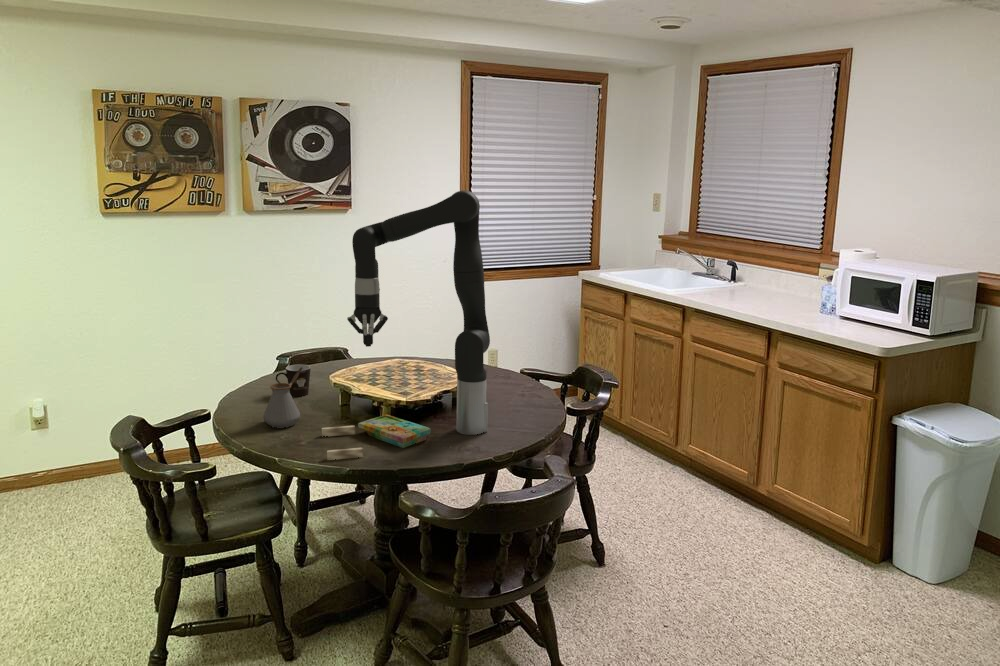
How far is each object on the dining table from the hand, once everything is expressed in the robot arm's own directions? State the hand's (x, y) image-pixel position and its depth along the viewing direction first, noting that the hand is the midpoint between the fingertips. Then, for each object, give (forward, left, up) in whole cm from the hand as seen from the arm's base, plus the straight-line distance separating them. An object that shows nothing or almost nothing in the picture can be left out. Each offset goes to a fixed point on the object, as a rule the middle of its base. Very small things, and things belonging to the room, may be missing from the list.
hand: (368, 345), depth 242 cm
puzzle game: (-6, +12, -27) cm, 30 cm away
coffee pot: (+24, -12, -26) cm, 38 cm away
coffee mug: (+21, -39, -26) cm, 51 cm away
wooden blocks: (+10, +16, -26) cm, 33 cm away
